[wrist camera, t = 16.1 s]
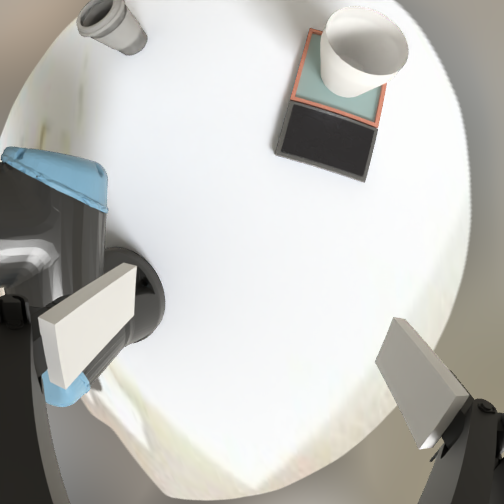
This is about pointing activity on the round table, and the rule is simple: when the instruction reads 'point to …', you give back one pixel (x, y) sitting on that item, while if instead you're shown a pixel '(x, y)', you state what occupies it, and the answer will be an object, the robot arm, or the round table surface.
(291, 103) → the ink pad
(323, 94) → the print frame
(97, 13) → the cup
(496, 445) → the robot arm
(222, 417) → the round table surface
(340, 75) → the cup
